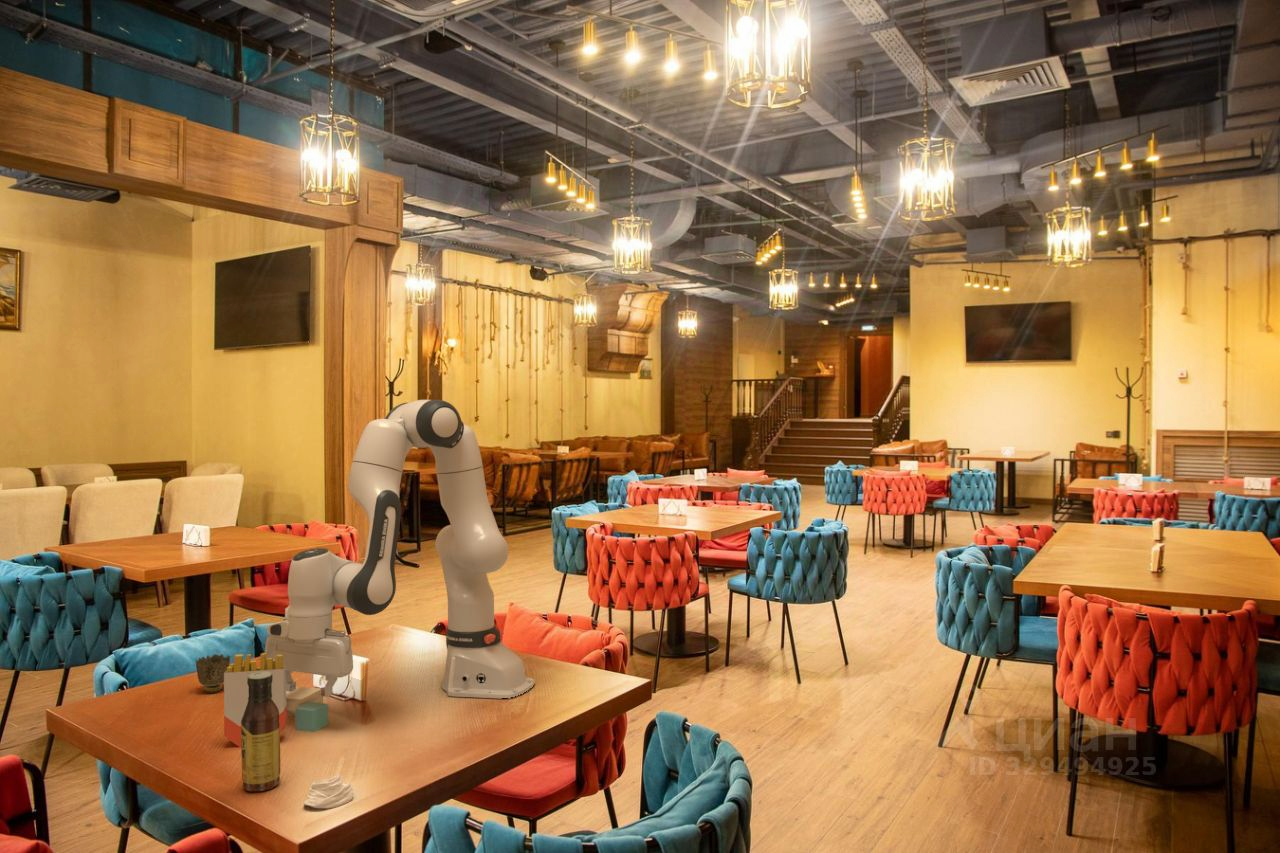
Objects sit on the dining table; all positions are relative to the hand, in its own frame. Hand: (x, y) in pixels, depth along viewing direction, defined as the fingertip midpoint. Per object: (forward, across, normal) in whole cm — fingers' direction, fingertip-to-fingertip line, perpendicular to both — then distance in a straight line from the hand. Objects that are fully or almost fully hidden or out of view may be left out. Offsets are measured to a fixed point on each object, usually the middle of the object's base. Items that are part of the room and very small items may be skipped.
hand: (308, 693), depth 179 cm
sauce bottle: (+8, -13, +26) cm, 30 cm away
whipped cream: (+8, -28, +27) cm, 40 cm away
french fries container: (+8, +4, +10) cm, 13 cm away
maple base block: (+8, +10, -9) cm, 16 cm away
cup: (+8, +38, -12) cm, 41 cm away
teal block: (+7, 0, -1) cm, 7 cm away
